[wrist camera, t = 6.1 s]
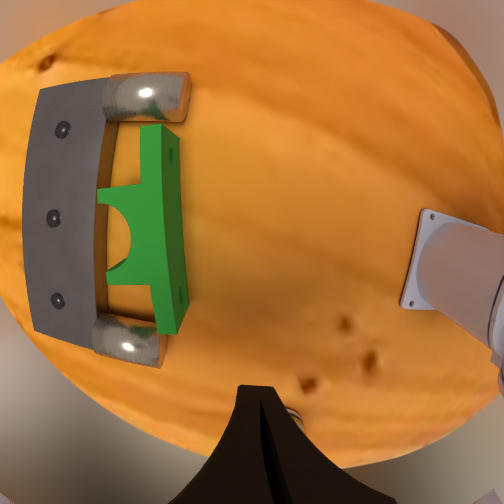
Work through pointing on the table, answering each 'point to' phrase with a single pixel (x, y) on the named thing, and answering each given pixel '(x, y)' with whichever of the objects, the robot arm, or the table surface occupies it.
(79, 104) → the fixed leaf
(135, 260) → the green notched block
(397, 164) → the table surface
